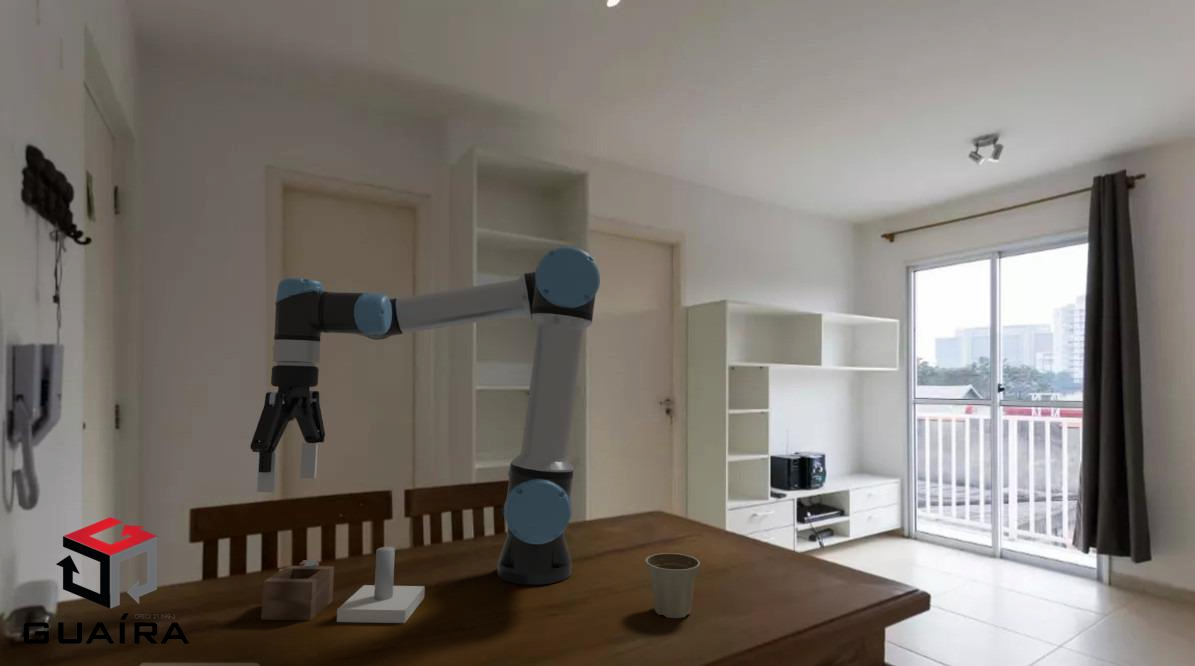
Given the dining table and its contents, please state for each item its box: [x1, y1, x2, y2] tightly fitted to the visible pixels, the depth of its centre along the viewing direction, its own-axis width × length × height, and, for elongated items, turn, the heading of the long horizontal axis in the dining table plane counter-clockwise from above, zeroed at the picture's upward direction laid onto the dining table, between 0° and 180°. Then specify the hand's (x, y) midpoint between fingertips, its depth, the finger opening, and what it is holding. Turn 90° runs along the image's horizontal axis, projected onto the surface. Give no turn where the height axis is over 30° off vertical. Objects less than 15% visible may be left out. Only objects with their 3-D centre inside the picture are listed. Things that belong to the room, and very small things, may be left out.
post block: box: [336, 546, 426, 624], centre depth 100 cm, size 11×11×10 cm
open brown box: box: [260, 565, 335, 621], centre depth 99 cm, size 8×8×6 cm
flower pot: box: [645, 552, 701, 619], centre depth 102 cm, size 9×9×9 cm
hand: (288, 484), depth 104 cm, fingers open, 13 cm apart
